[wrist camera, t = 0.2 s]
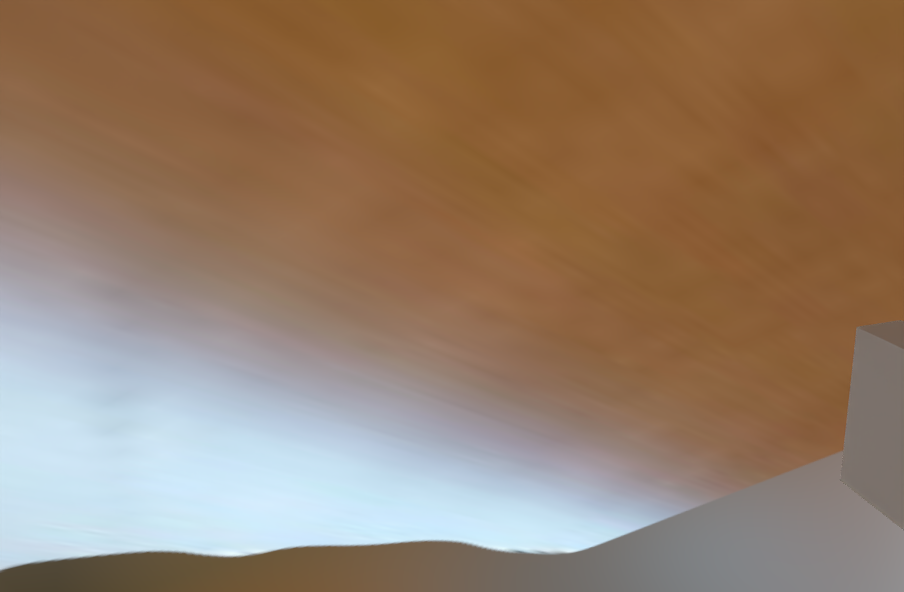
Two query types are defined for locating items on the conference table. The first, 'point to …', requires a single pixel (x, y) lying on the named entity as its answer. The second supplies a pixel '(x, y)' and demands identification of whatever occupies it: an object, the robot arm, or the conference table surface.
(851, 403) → the robot arm
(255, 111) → the conference table surface
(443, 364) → the conference table surface
